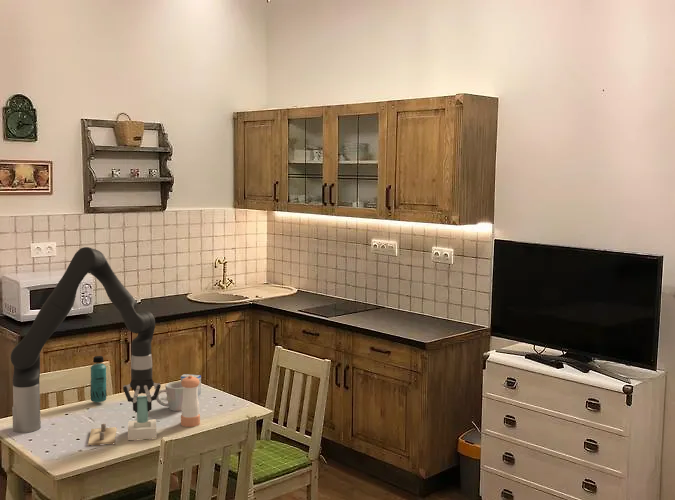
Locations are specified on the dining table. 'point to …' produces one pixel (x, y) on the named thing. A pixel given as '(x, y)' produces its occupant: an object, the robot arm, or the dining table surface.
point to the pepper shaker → (190, 402)
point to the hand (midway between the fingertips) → (142, 411)
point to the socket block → (141, 430)
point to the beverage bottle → (98, 380)
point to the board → (97, 436)
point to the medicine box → (196, 377)
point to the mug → (173, 396)
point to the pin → (142, 409)
